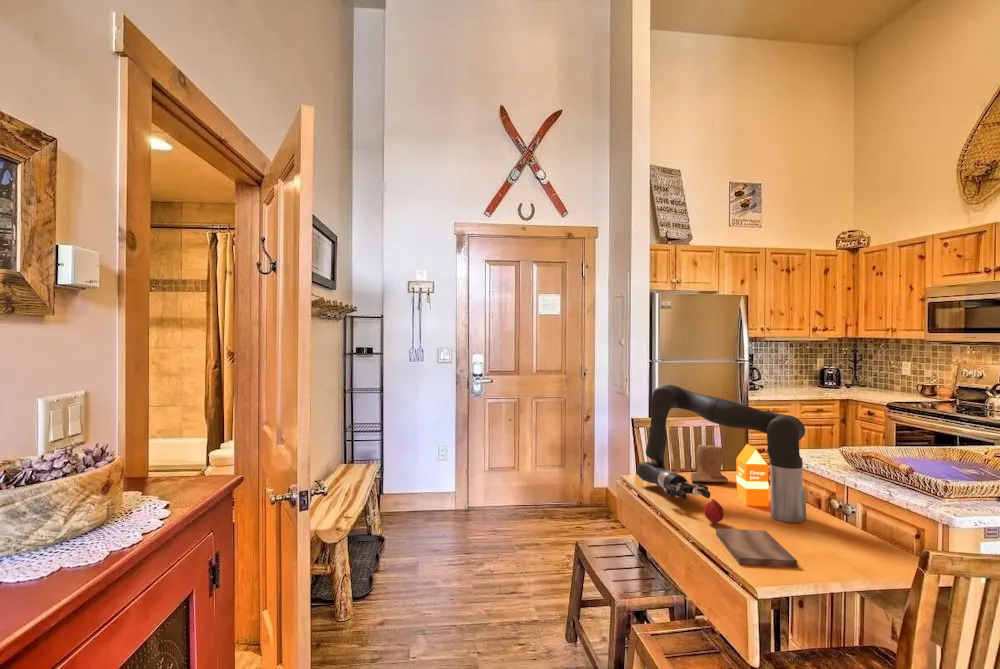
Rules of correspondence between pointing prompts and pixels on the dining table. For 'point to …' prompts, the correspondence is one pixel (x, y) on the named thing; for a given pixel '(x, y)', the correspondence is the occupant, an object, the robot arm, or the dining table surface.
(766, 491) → the orange juice
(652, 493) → the dining table surface
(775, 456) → the robot arm
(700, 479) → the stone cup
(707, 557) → the dining table surface
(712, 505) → the onion
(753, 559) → the cutting board
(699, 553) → the dining table surface
